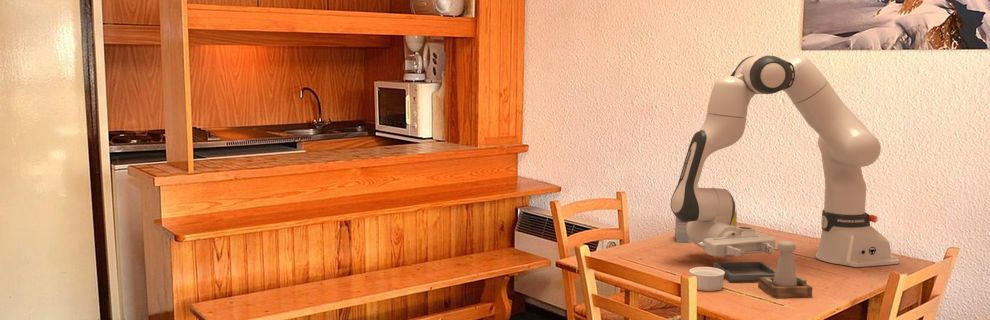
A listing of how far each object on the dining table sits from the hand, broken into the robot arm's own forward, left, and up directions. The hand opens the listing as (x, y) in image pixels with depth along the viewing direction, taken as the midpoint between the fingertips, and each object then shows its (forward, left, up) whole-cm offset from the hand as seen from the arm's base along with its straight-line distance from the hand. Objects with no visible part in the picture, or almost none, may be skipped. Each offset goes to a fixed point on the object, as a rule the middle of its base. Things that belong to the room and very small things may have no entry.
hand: (756, 251), depth 230 cm
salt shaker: (-3, +12, -8) cm, 14 cm away
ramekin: (+15, +6, -8) cm, 18 cm away
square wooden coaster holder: (-3, +12, -8) cm, 14 cm away
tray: (+1, -4, -8) cm, 9 cm away
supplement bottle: (-13, -59, -8) cm, 61 cm away
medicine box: (+6, -47, -8) cm, 48 cm away
